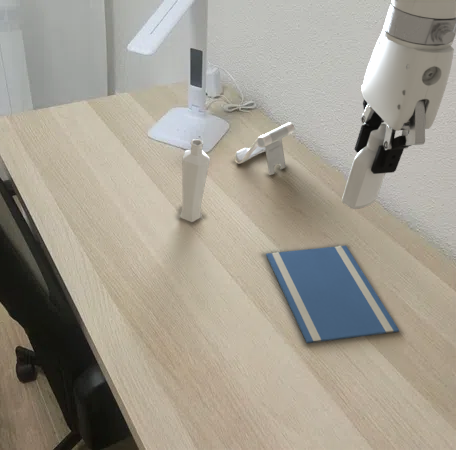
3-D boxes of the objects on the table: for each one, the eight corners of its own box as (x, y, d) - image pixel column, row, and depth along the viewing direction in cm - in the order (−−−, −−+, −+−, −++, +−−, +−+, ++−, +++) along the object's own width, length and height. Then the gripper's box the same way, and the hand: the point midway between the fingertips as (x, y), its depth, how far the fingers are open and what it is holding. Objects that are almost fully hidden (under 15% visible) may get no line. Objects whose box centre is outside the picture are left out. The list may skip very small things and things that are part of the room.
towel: (345, 247, 93) (346, 245, 92) (398, 331, 79) (399, 329, 79) (265, 255, 91) (266, 253, 90) (306, 343, 77) (307, 341, 77)
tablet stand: (262, 146, 115) (269, 111, 110) (292, 163, 111) (300, 127, 106) (234, 161, 111) (239, 124, 106) (263, 179, 107) (270, 142, 101)
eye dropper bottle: (384, 208, 76) (412, 133, 68) (345, 211, 75) (369, 134, 67) (371, 189, 79) (397, 115, 71) (334, 191, 79) (355, 117, 71)
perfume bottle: (207, 211, 99) (216, 140, 89) (196, 225, 96) (204, 152, 86) (185, 203, 100) (191, 131, 91) (173, 216, 97) (178, 143, 88)
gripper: (498, 54, 55) (433, 197, 67) (413, -3, 68) (371, 126, 80) (430, 57, 54) (376, 202, 66) (356, -2, 67) (322, 130, 79)
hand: (374, 159), depth 73 cm, fingers closed on eye dropper bottle, 4 cm apart
